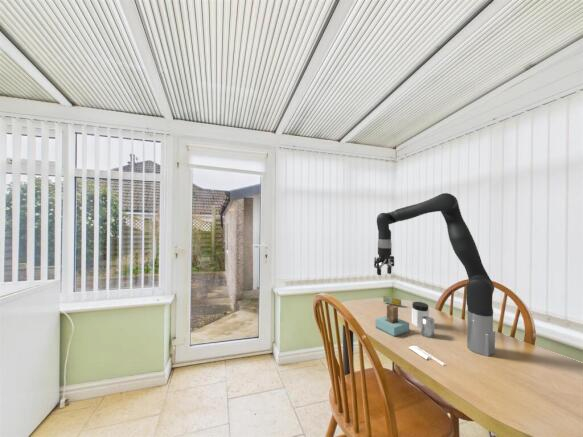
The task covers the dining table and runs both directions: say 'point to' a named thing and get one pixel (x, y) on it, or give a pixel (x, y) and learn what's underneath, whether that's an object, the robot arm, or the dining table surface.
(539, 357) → the dining table surface
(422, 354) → the white long flat piece
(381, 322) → the socket block
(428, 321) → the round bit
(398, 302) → the medication box
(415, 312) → the jar
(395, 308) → the square peg
